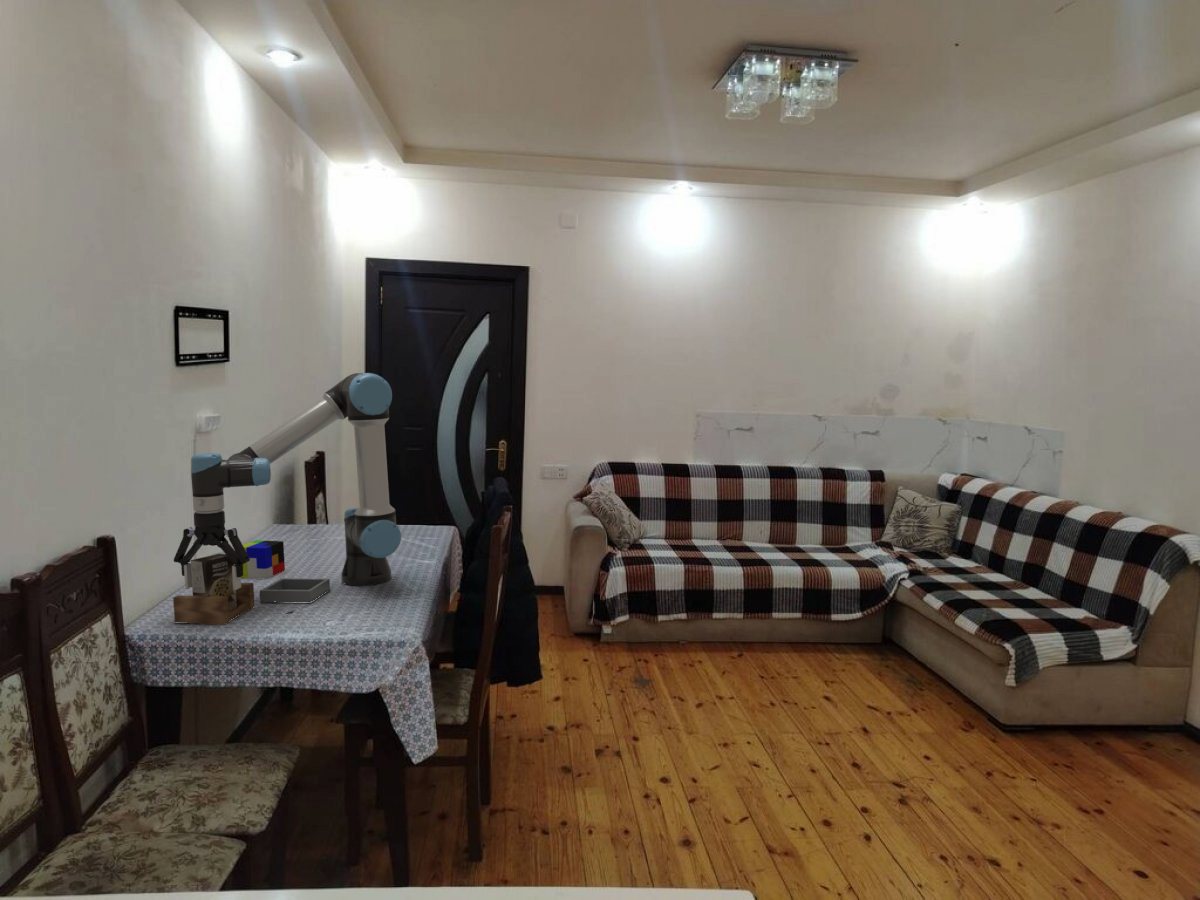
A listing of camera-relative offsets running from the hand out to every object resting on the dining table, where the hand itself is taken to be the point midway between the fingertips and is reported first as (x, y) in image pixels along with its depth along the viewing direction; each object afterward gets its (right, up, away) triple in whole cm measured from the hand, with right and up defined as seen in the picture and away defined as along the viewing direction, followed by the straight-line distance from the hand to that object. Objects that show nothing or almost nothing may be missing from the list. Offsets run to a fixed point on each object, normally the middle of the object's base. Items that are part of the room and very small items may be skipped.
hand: (213, 588), depth 220 cm
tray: (+16, -5, +17) cm, 24 cm away
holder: (0, -7, +1) cm, 8 cm away
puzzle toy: (-5, -3, +43) cm, 44 cm away
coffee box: (0, -8, +1) cm, 8 cm away
